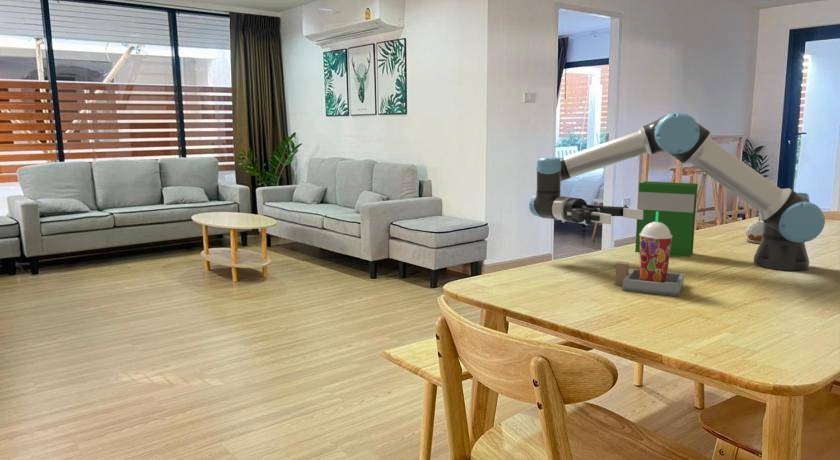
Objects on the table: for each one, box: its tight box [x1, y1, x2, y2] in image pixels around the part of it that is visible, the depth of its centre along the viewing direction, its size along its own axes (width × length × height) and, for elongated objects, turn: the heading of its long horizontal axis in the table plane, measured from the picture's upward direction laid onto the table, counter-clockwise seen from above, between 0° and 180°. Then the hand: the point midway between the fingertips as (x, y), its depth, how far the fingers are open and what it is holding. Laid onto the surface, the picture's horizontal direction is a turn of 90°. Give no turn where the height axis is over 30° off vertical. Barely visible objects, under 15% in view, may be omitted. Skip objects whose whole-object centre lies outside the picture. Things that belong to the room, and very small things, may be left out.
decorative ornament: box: [745, 212, 763, 244], centre depth 238 cm, size 8×8×15 cm
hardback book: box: [634, 180, 699, 258], centre depth 219 cm, size 18×7×24 cm, turn 61°
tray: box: [614, 261, 685, 298], centre depth 175 cm, size 17×14×6 cm
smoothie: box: [639, 212, 672, 283], centre depth 173 cm, size 8×8×20 cm
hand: (626, 217), depth 180 cm, fingers open, 13 cm apart
